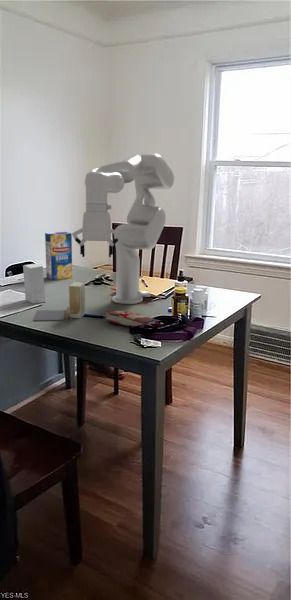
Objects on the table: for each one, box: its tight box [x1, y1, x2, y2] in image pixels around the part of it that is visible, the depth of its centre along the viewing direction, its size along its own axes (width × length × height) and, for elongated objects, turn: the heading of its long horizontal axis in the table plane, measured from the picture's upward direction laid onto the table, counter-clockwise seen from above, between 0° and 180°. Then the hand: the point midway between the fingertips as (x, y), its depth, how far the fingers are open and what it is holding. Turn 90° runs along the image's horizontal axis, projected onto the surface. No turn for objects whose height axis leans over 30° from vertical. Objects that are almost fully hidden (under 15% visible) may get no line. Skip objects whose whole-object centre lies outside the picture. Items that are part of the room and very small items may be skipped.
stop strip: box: [64, 306, 70, 323], centre depth 180 cm, size 1×14×2 cm, turn 6°
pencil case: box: [106, 310, 159, 327], centre depth 170 cm, size 11×20×5 cm, turn 44°
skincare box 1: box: [22, 263, 46, 305], centre depth 197 cm, size 8×6×15 cm
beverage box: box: [44, 231, 73, 281], centre depth 238 cm, size 7×11×22 cm, turn 123°
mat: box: [33, 309, 66, 322], centre depth 180 cm, size 11×12×1 cm
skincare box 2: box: [68, 281, 86, 319], centre depth 179 cm, size 6×4×12 cm
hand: (96, 256), depth 176 cm, fingers open, 9 cm apart
